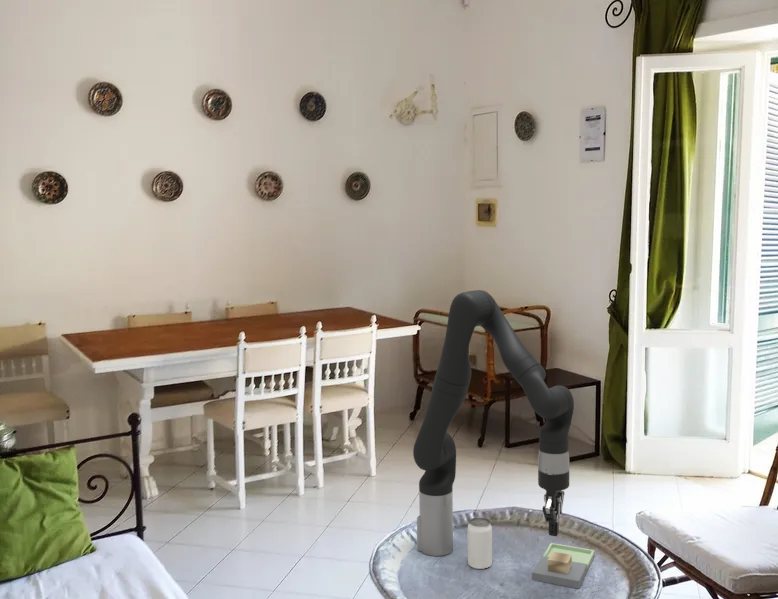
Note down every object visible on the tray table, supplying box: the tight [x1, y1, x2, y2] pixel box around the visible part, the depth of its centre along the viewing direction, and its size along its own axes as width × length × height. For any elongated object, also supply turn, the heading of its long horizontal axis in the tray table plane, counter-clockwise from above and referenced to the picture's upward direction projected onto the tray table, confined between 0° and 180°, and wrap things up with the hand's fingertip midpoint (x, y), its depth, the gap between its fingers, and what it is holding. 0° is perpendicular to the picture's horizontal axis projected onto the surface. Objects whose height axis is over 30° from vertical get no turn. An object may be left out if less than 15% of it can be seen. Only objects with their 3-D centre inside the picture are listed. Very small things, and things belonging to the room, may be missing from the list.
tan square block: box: [548, 552, 572, 574], centre depth 211 cm, size 5×5×3 cm
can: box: [466, 516, 493, 570], centre depth 217 cm, size 6×6×12 cm
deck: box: [531, 556, 588, 589], centre depth 211 cm, size 12×10×2 cm
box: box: [543, 542, 596, 571], centre depth 220 cm, size 12×10×2 cm
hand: (553, 534), depth 202 cm, fingers closed
